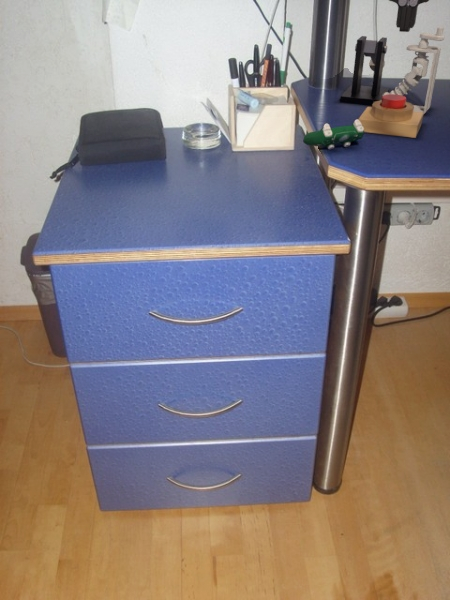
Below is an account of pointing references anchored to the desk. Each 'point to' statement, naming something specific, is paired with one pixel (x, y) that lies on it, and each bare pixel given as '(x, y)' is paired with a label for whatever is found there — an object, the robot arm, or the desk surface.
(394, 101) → the button
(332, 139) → the green toy race car
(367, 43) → the lever
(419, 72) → the clamp
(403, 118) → the button block
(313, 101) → the desk surface
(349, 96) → the bracket
